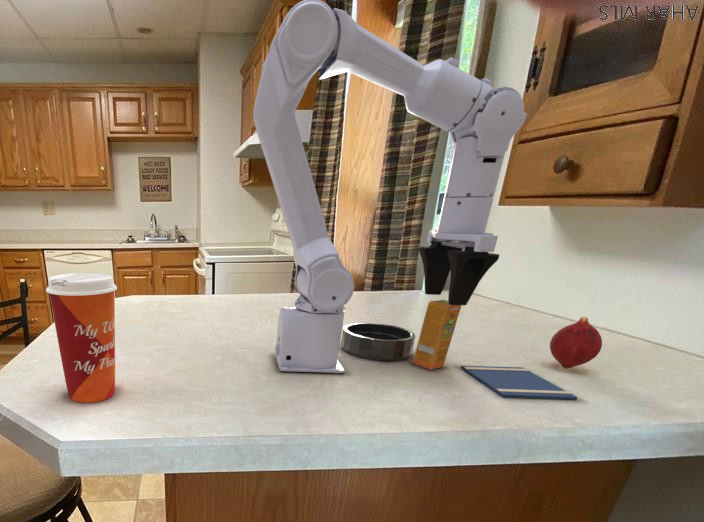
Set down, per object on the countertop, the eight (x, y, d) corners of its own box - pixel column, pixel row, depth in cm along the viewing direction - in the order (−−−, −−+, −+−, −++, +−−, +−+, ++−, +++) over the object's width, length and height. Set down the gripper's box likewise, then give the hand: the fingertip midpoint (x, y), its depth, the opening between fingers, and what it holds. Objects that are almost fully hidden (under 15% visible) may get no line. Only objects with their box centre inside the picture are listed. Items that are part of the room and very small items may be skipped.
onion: (600, 376, 62) (622, 323, 59) (556, 373, 63) (575, 320, 60) (576, 363, 67) (595, 313, 64) (535, 360, 68) (552, 311, 65)
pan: (350, 360, 68) (353, 339, 67) (334, 340, 78) (336, 322, 77) (422, 362, 67) (427, 341, 66) (396, 342, 77) (400, 323, 76)
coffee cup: (92, 412, 50) (80, 284, 44) (45, 397, 54) (28, 278, 48) (137, 389, 57) (131, 275, 51) (92, 376, 61) (82, 270, 55)
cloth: (503, 397, 55) (504, 393, 55) (460, 367, 65) (461, 364, 65) (576, 400, 54) (577, 396, 54) (521, 369, 64) (522, 366, 64)
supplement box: (432, 371, 64) (448, 305, 60) (412, 364, 67) (426, 300, 63) (446, 367, 65) (462, 303, 61) (425, 360, 68) (440, 298, 64)
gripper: (535, 196, 50) (502, 310, 55) (470, 199, 63) (448, 290, 68) (473, 196, 50) (446, 309, 55) (421, 198, 63) (403, 289, 69)
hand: (444, 299), depth 62 cm, fingers open, 7 cm apart
